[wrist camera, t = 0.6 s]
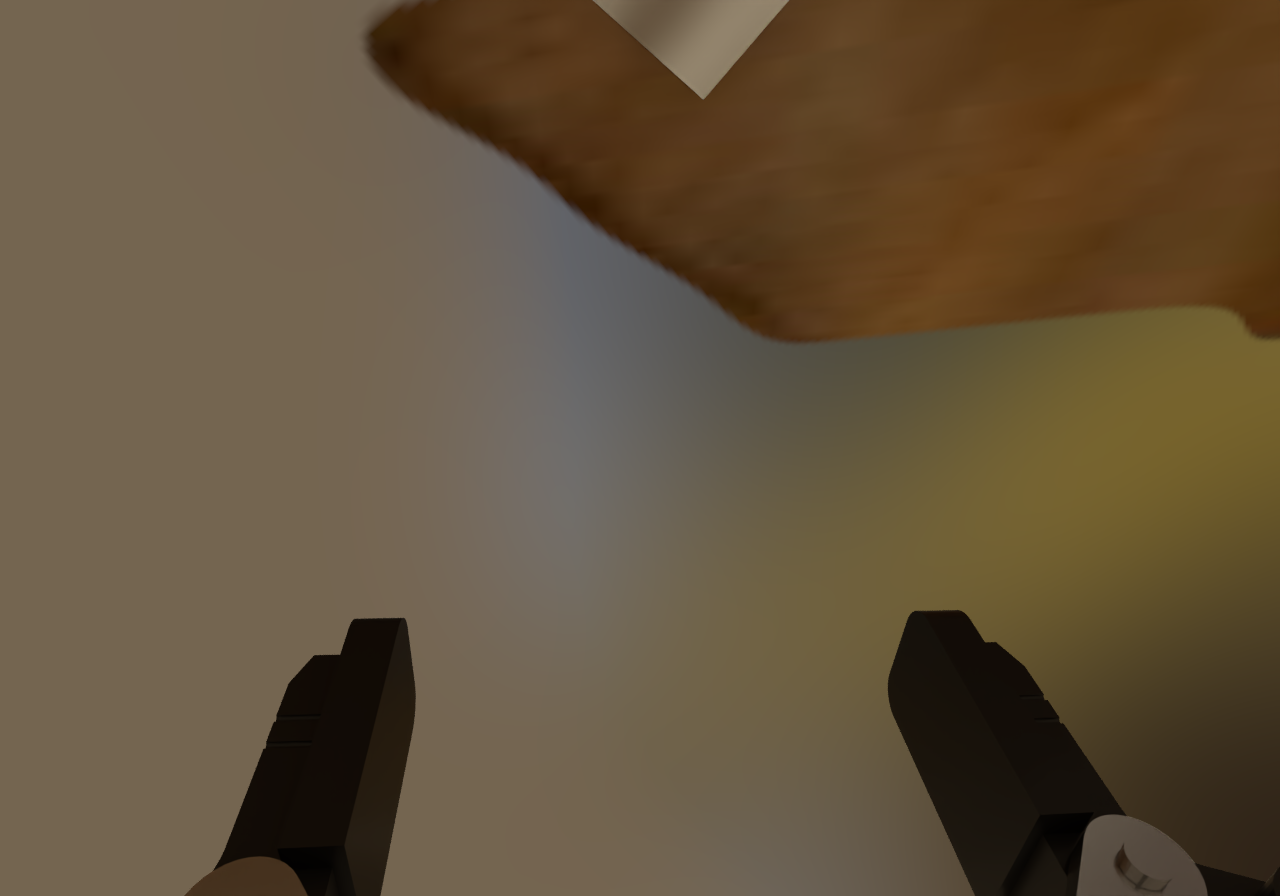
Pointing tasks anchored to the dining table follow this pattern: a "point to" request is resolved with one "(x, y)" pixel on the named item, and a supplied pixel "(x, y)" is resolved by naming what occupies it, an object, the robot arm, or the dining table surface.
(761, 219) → the dining table surface
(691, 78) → the floor panel
